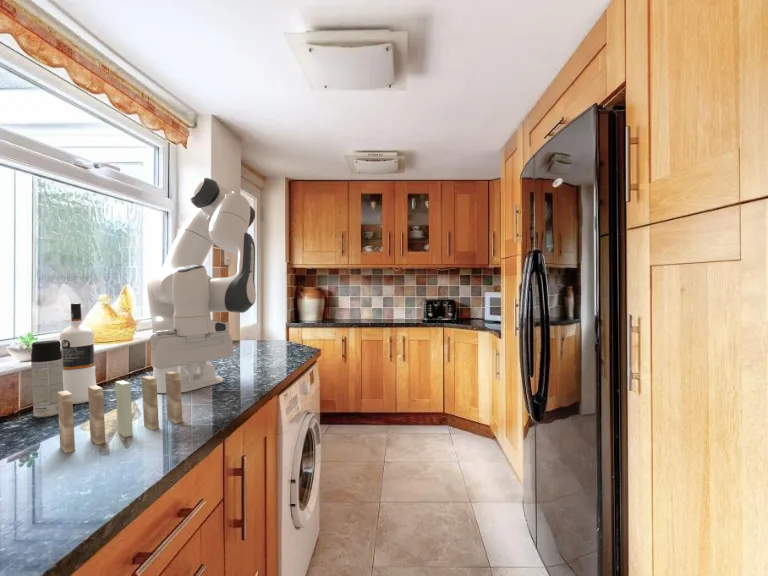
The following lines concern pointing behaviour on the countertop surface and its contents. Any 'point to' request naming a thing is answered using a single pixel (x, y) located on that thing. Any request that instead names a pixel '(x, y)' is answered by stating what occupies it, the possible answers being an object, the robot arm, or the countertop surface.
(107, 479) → the countertop surface
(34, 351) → the spray can
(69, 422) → the domino
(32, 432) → the countertop surface
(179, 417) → the domino
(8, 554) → the countertop surface
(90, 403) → the brown wooden flat block
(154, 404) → the domino
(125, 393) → the domino
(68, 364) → the vodka
